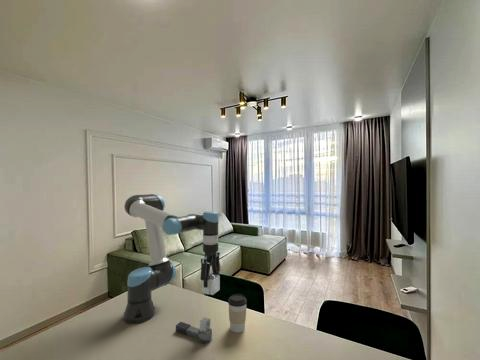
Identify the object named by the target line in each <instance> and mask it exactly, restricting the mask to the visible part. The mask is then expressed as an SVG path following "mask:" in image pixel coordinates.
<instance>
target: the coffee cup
mask: <svg viewBox="0 0 480 360" xmlns="http://www.w3.org/2000/svg"><path fill="white" fill-rule="evenodd" d="M227 303H228V317H229V325H230V326H229V328H230V331H231V332H232V333H236V334H238V333H243V332H244V331H245V329H246V328H245V327H246V320H247V319H246V317H247V303H248V300H247V298H246V297H245V296H244V295H243V294H242V293H239V292H238V293H235V294H232V295H231V296H229V298H228V301H227Z"/></svg>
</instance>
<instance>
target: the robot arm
mask: <svg viewBox="0 0 480 360" xmlns="http://www.w3.org/2000/svg"><path fill="white" fill-rule="evenodd" d="M165 206H166V205H165V200H164V198H163V197H162V196H161V195H159V194H153V193H152V194H136V195H131V196H130V197H128V198H127V199H126V200H125V203H124V211H125V212H126V213H127V214H128V215H129V216H131V217H132V218H140V219H143V220H144V223H145V230H146V236H147V242H148V244H147V245H148V250H149V256H150V262H149V264H148V266H143V267H138V268H136V269H134V270H132V271H131V272H130V273H128V275H127V283H126V284H127V296H126V297H127V300H126V301H127V303H126V307H125V309H124V312H123V322H125V323H126V324H130V325H135V324H140V323H141V324H142V323H143V322H146V321H149V320H151V319H152V318H153V317H154V316H155V311H156V310H155V305H154V302H153V299H152V292H153V291H155V290H157V289H160V288H162V287H165V286H168V285H169V284H170V283H172V282H173V281H174V279H175V278H176V269H177V268H176V266H175V265H174V263H173V262H171V260H170V258H169V257H167V253H166V246H165V241H164V240H165V239H164V234H163V232H164V233H165V234H166V235H168V236H171V235H173V236H174V235H177V234H181V233H185V232H191V231H194V230H195V231H196V230H198V231H202V243H203V244H202V252H203V253H204V257H203V258H201V259H200V263H201V267H200V281H202V280H203V281H204V293H203V294H204V295H210V294H209V280H208V279H209V273H211V271H212V273H214V274H215V275H220V271H221V268H220V267H221V266H220V265H221V264H220V252H219V222H220V221H219V213H218V211H213V210H212V211H204V212H203V213H202V214H196V213H192V214H190V213H189V214H187V215H184V216H183V215H182V216H177V215H175V214H171V213H169V212H166V211H164V210H165ZM211 269H212V270H211Z"/></svg>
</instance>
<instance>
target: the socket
mask: <svg viewBox="0 0 480 360" xmlns="http://www.w3.org/2000/svg"><path fill="white" fill-rule="evenodd" d="M220 278H221V276H220V274H217V275H215V274H214V273H213V272H210V273H209V279H208V280H209V294H208V295H211V296H214V295H215V294H216V293H217V292H219V291H220V290H221V289H220V288H221V287H220V285H221V279H220ZM201 293H202V294H204V281H203V280H201Z"/></svg>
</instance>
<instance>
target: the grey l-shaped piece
mask: <svg viewBox="0 0 480 360" xmlns="http://www.w3.org/2000/svg"><path fill="white" fill-rule="evenodd" d="M175 332H176V333H178V334H181V335H185V336H187V337H191V338H192V339H196V340H198V343H199V344H200V345H201V344H202V345H207V344H209V343H211V342H212V340H213V329H211V318H209V317H206V316H204V317H203V318H201V319H200V320H199V328H198V327H195V326H191V324H189V323H186V322H183V321H179V323H177V324H176V325H175Z"/></svg>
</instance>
